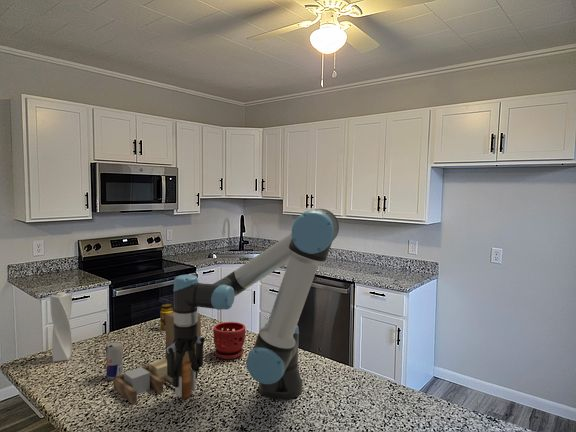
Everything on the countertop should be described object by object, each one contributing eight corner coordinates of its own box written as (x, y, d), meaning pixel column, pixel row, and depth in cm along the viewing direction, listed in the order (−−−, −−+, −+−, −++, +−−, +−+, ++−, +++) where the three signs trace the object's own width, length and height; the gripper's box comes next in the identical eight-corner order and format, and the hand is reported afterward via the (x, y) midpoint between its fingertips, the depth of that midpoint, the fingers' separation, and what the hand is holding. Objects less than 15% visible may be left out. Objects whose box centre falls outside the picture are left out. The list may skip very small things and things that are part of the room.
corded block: (196, 394, 128) (196, 362, 127) (180, 401, 124) (180, 368, 123) (164, 373, 142) (164, 344, 141) (149, 379, 137) (148, 349, 136)
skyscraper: (76, 353, 157) (75, 285, 156) (72, 361, 150) (70, 290, 148) (52, 355, 155) (51, 287, 153) (47, 364, 147) (45, 292, 145)
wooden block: (186, 355, 157) (186, 307, 156) (201, 363, 151) (201, 313, 150) (164, 364, 150) (164, 313, 148) (179, 372, 143) (179, 319, 142)
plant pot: (250, 356, 158) (251, 327, 157) (221, 364, 150) (221, 334, 150) (236, 345, 169) (236, 318, 168) (208, 352, 161) (208, 324, 160)
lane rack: (187, 382, 135) (187, 371, 135) (133, 404, 121) (132, 392, 121) (166, 369, 145) (166, 359, 145) (113, 388, 130) (113, 377, 130)
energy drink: (104, 376, 138) (103, 344, 138) (118, 371, 142) (118, 340, 142) (110, 382, 135) (109, 348, 134) (125, 376, 139) (125, 344, 138)
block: (149, 389, 130) (149, 372, 130) (132, 396, 126) (132, 378, 126) (141, 383, 134) (141, 366, 134) (124, 390, 130) (124, 372, 130)
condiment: (161, 333, 181) (161, 308, 180) (156, 327, 188) (156, 303, 187) (177, 330, 186) (177, 305, 185) (171, 324, 192) (171, 301, 192)
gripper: (201, 314, 134) (201, 379, 136) (154, 326, 121) (154, 398, 123) (214, 319, 129) (214, 386, 131) (167, 333, 116) (167, 407, 118)
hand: (185, 392), depth 127 cm, fingers open, 4 cm apart
